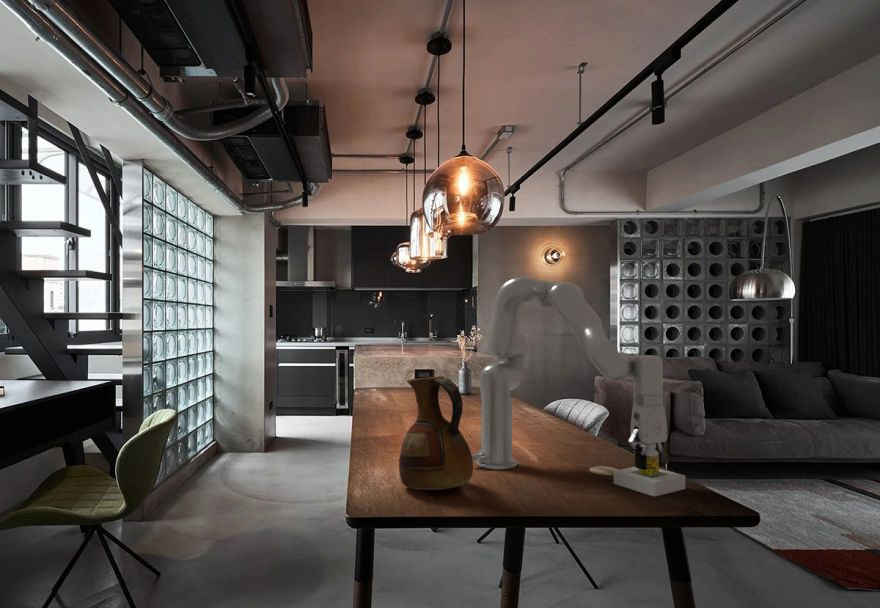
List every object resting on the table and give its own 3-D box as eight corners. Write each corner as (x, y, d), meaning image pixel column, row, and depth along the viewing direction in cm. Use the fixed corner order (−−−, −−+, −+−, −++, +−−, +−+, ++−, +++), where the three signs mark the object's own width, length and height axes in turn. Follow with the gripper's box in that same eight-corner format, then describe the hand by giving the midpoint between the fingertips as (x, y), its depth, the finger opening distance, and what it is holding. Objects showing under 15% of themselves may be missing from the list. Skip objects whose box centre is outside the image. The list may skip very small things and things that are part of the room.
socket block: (654, 496, 138) (654, 482, 138) (613, 483, 149) (613, 470, 149) (685, 488, 145) (685, 475, 145) (644, 477, 156) (644, 464, 156)
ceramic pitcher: (423, 473, 157) (424, 370, 158) (485, 484, 147) (486, 374, 148) (383, 491, 140) (384, 375, 142) (450, 504, 130) (451, 380, 131)
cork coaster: (612, 478, 156) (612, 475, 156) (584, 472, 162) (584, 470, 162) (625, 472, 162) (625, 470, 162) (598, 466, 168) (598, 464, 169)
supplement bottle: (658, 476, 149) (658, 440, 149) (659, 481, 143) (659, 444, 144) (637, 474, 150) (637, 439, 151) (638, 479, 145) (638, 443, 145)
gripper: (639, 404, 140) (639, 474, 139) (679, 400, 149) (679, 466, 148) (615, 400, 146) (615, 468, 146) (656, 397, 155) (656, 460, 155)
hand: (648, 466), depth 147 cm, fingers closed on supplement bottle, 5 cm apart
